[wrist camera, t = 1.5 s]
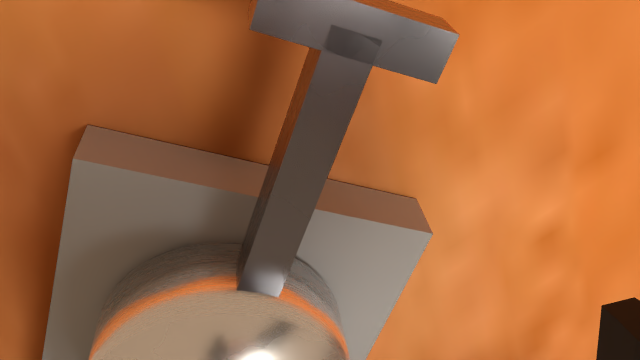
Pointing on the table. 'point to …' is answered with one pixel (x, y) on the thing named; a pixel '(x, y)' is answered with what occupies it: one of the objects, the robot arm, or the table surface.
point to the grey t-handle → (275, 204)
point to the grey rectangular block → (215, 232)
